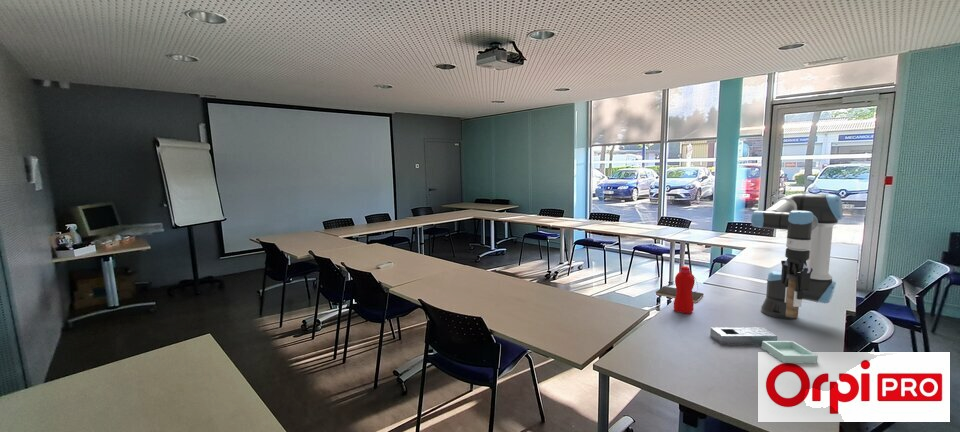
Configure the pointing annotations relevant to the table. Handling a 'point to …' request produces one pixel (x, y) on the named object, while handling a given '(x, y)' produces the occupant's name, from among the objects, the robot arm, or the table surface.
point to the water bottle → (684, 291)
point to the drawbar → (742, 335)
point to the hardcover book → (673, 291)
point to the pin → (791, 297)
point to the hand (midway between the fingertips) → (792, 304)
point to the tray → (789, 352)
